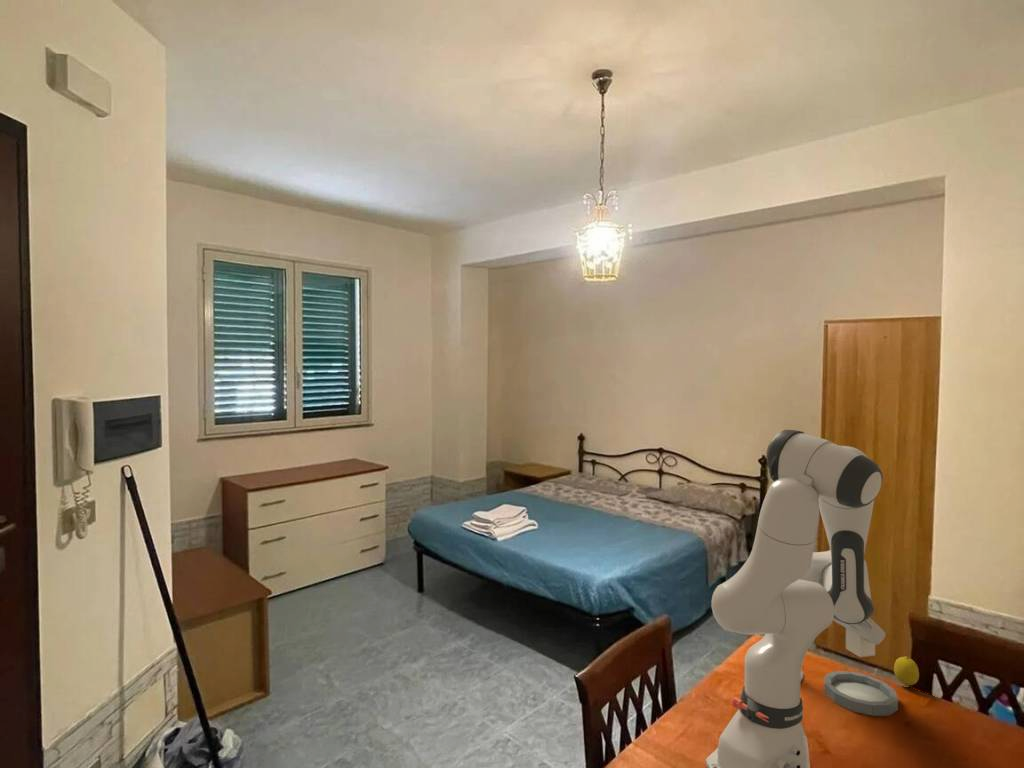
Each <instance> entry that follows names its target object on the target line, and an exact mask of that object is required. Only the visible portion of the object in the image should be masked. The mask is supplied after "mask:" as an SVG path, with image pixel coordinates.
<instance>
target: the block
mask: <svg viewBox="0 0 1024 768" xmlns="http://www.w3.org/2000/svg"><path fill="white" fill-rule="evenodd" d="M845 649H846V650H847V651H849V652H851V653H852V654H854V655H856V656H857V657H859V658H864V657H872V656H876V644H874V643H872V644H871V643H869V642H868V641H866V640H865V639H864V638H863V637H862V636H860V635H858V634H856V633H854V632H853V631H851V630H849V629H847V628H845Z"/></svg>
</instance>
